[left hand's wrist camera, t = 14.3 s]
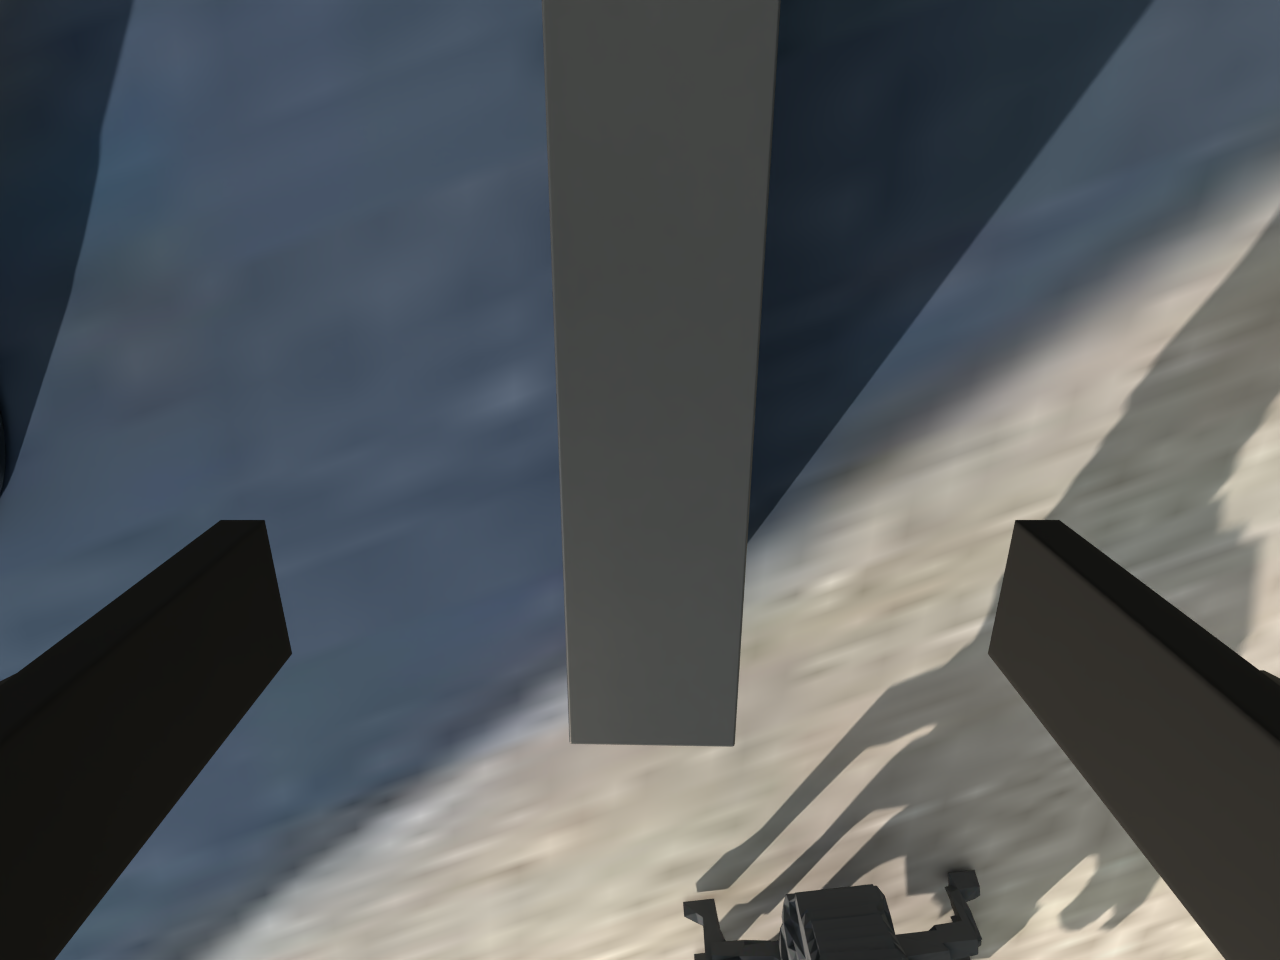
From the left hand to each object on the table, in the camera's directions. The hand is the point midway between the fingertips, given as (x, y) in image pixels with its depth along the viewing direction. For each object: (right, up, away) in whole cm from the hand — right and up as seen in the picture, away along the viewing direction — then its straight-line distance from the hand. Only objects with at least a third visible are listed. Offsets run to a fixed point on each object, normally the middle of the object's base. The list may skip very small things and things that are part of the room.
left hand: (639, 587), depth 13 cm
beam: (+1, +28, +4) cm, 28 cm away
